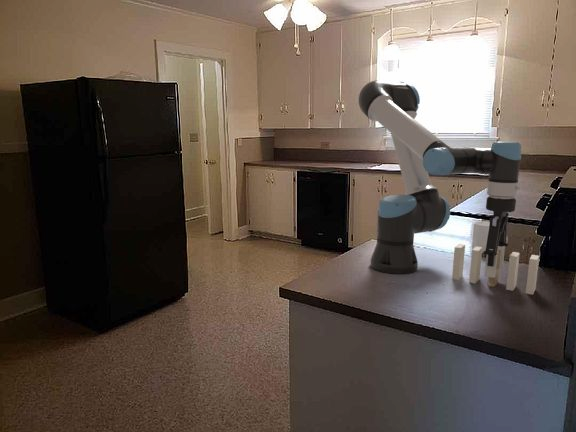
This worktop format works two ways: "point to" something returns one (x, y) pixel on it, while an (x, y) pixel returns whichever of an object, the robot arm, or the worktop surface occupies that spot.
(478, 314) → the worktop surface
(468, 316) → the worktop surface
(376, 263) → the robot arm
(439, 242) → the worktop surface
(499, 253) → the tile
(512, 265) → the tile
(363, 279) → the worktop surface
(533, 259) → the tile
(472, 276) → the tile
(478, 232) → the mug
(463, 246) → the tile
